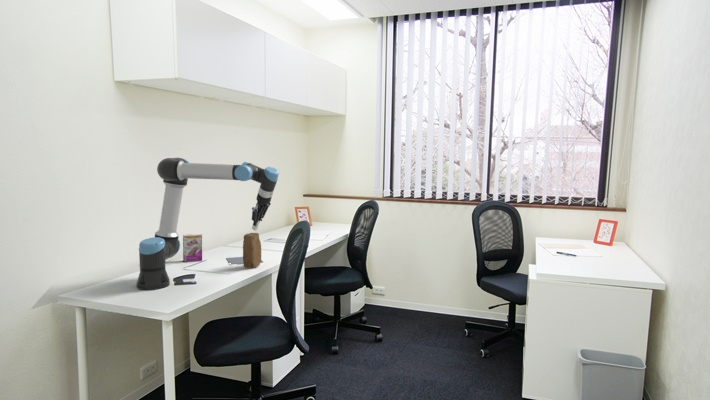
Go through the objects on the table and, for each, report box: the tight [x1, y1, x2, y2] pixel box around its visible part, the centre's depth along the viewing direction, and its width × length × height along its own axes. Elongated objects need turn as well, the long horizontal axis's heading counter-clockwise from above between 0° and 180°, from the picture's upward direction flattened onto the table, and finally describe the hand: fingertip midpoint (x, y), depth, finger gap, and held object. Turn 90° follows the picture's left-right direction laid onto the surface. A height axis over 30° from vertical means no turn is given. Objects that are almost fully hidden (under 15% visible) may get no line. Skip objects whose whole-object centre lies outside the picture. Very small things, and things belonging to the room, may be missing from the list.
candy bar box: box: [182, 233, 203, 263], centre depth 270 cm, size 11×5×16 cm, turn 111°
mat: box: [226, 256, 264, 265], centre depth 273 cm, size 20×18×1 cm
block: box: [242, 232, 262, 269], centre depth 258 cm, size 11×8×20 cm
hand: (254, 229), depth 241 cm, fingers closed
